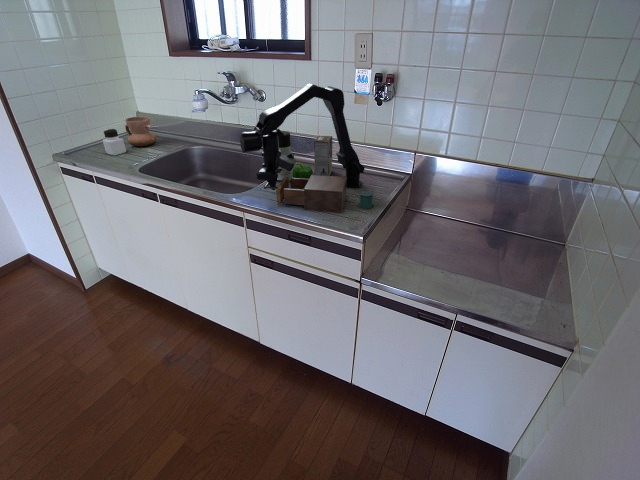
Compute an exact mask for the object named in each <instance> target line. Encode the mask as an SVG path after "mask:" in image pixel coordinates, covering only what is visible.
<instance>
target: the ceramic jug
mask: <svg viewBox="0 0 640 480" xmlns="http://www.w3.org/2000/svg"><path fill="white" fill-rule="evenodd" d="M124 121H125V125H124V128H125V129H124V130H125V132H126V133H127V135H128V138H127V142H128V143H129V144H130V145H131V146H133V147H139V148H140V147H141V148H142V147H149V146H151V145H153V144H154V143H156V141H157V136H156V135H155V134H154V133H152V132H150V129H152V128H153V125H151V119H150V117H149V116H131V117H127V118H125V119H124Z"/></svg>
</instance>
